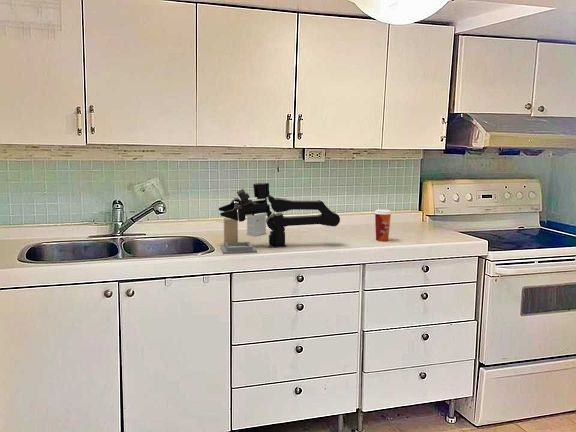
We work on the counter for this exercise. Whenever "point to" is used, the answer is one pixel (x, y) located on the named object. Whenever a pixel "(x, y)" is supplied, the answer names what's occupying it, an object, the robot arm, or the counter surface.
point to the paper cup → (382, 224)
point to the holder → (238, 248)
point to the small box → (256, 224)
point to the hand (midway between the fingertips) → (219, 211)
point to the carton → (230, 230)
